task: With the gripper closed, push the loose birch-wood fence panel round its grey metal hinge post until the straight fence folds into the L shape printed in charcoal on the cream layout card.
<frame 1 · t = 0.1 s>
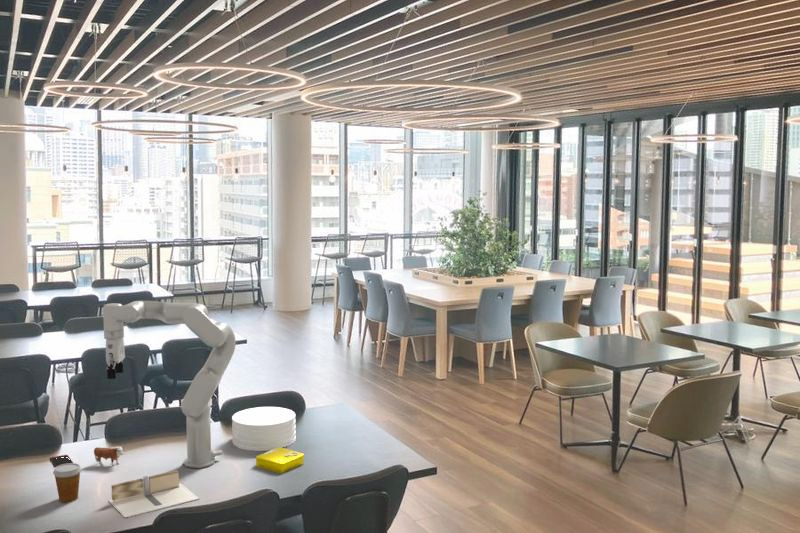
hand: (115, 375, 320), 37 cm above the table, tool pointing down, fingers open, 9 cm apart
layout card: (153, 500, 288), on the table
element tile: (280, 465, 325), on the table
plate stack: (264, 440, 355), on the table
disposable coffee cup: (68, 499, 289), on the table
smartphone: (62, 463, 326), on the table
bull figurine: (110, 465, 323), on the table
fence panel: (127, 489, 288), point 4 cm above the table, hinge at 0.0°
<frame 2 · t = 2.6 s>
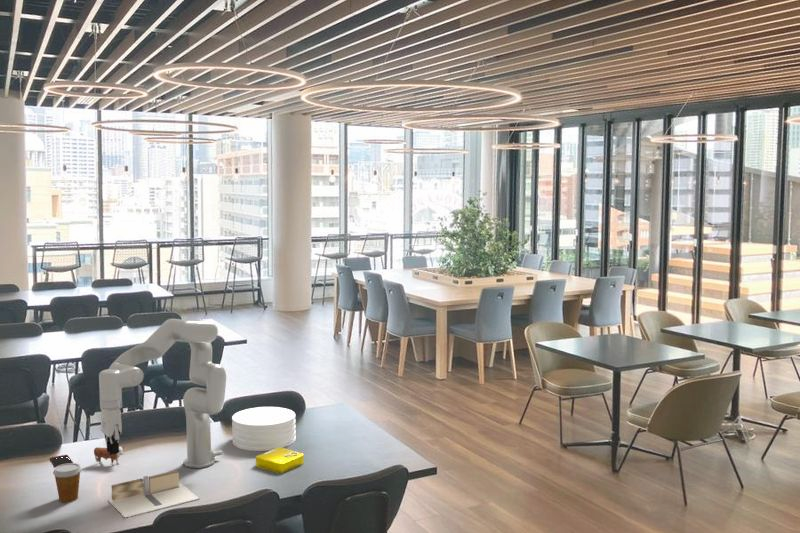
hand: (113, 452, 289), 17 cm above the table, tool pointing down, fingers closed
nothing on the table moved.
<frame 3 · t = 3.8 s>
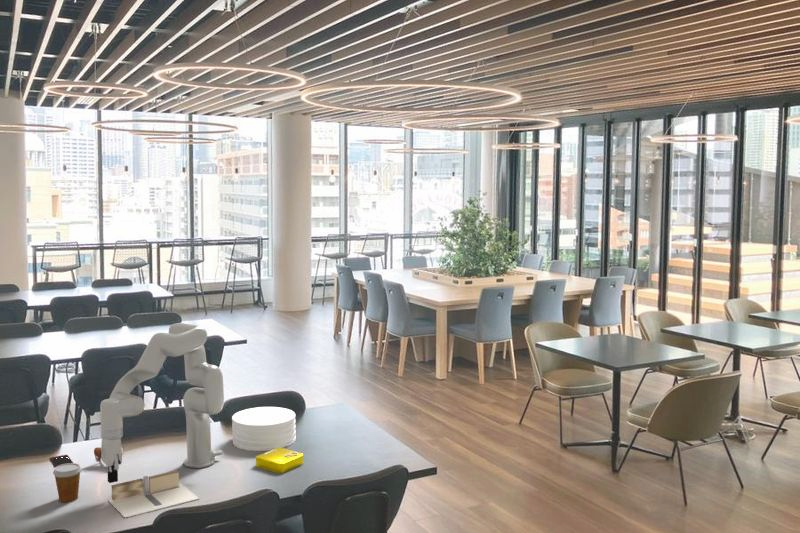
hand: (112, 481, 290), 6 cm above the table, tool pointing down, fingers closed
nothing on the table moved.
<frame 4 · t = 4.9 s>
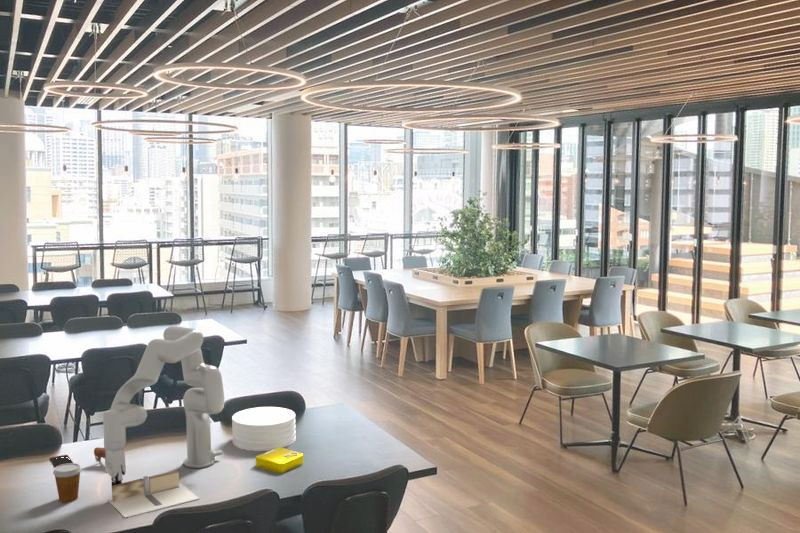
hand: (117, 491, 289), 3 cm above the table, tool pointing down, fingers closed
fence panel: (127, 489, 288), point 4 cm above the table, hinge at 2.5°, touching gripper
everything else where it was.
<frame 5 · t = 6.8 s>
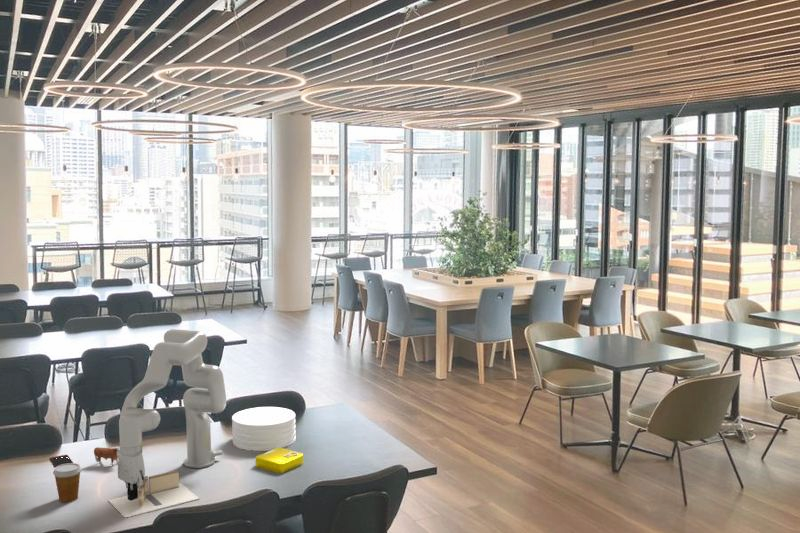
hand: (132, 498, 283), 3 cm above the table, tool pointing down, fingers closed
fence panel: (142, 492, 286), point 4 cm above the table, hinge at 61.3°, touching gripper
everything else where it was.
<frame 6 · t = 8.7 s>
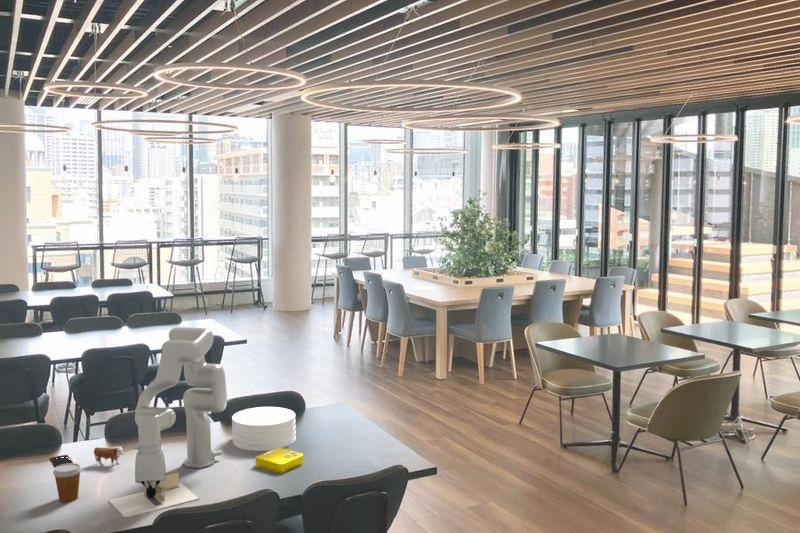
hand: (151, 497, 284), 3 cm above the table, tool pointing down, fingers closed
fence panel: (155, 490, 288), point 4 cm above the table, hinge at 98.7°, touching gripper
everything else where it was.
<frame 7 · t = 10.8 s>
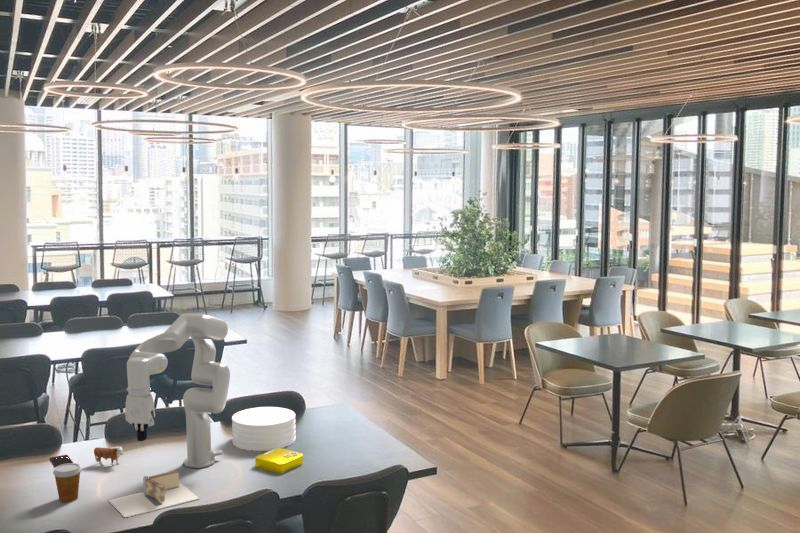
hand: (142, 439, 289), 22 cm above the table, tool pointing down, fingers closed
fence panel: (155, 490, 288), point 4 cm above the table, hinge at 98.7°
everything else where it was.
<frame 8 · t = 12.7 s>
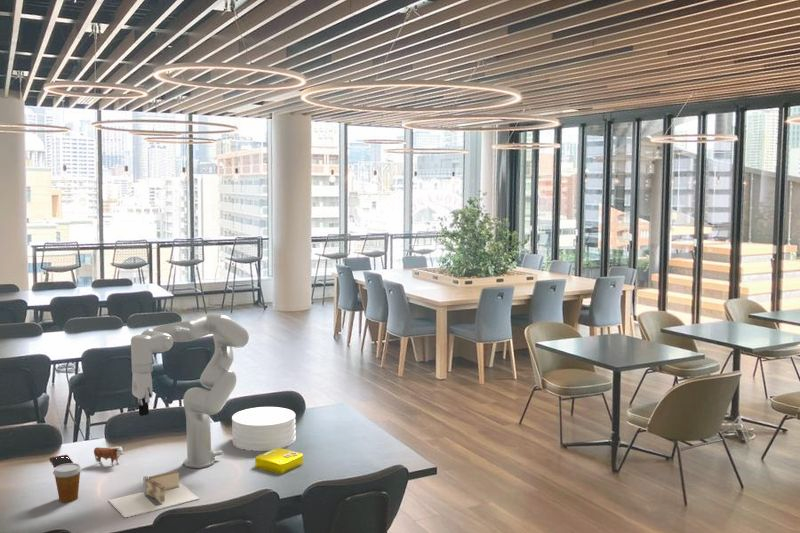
hand: (143, 414, 301), 27 cm above the table, tool pointing down, fingers closed
nothing on the table moved.
at the end: fence panel at +99° (first picture: +0°) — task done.
